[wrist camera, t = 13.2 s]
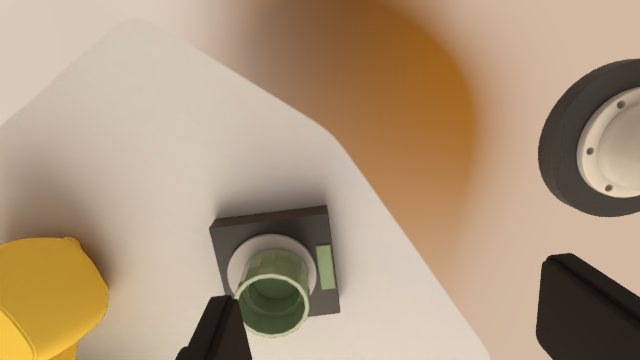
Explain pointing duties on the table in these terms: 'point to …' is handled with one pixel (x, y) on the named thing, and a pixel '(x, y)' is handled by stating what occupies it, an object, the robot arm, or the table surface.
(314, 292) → the scale
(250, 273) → the green cup
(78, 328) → the teapot
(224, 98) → the table surface
